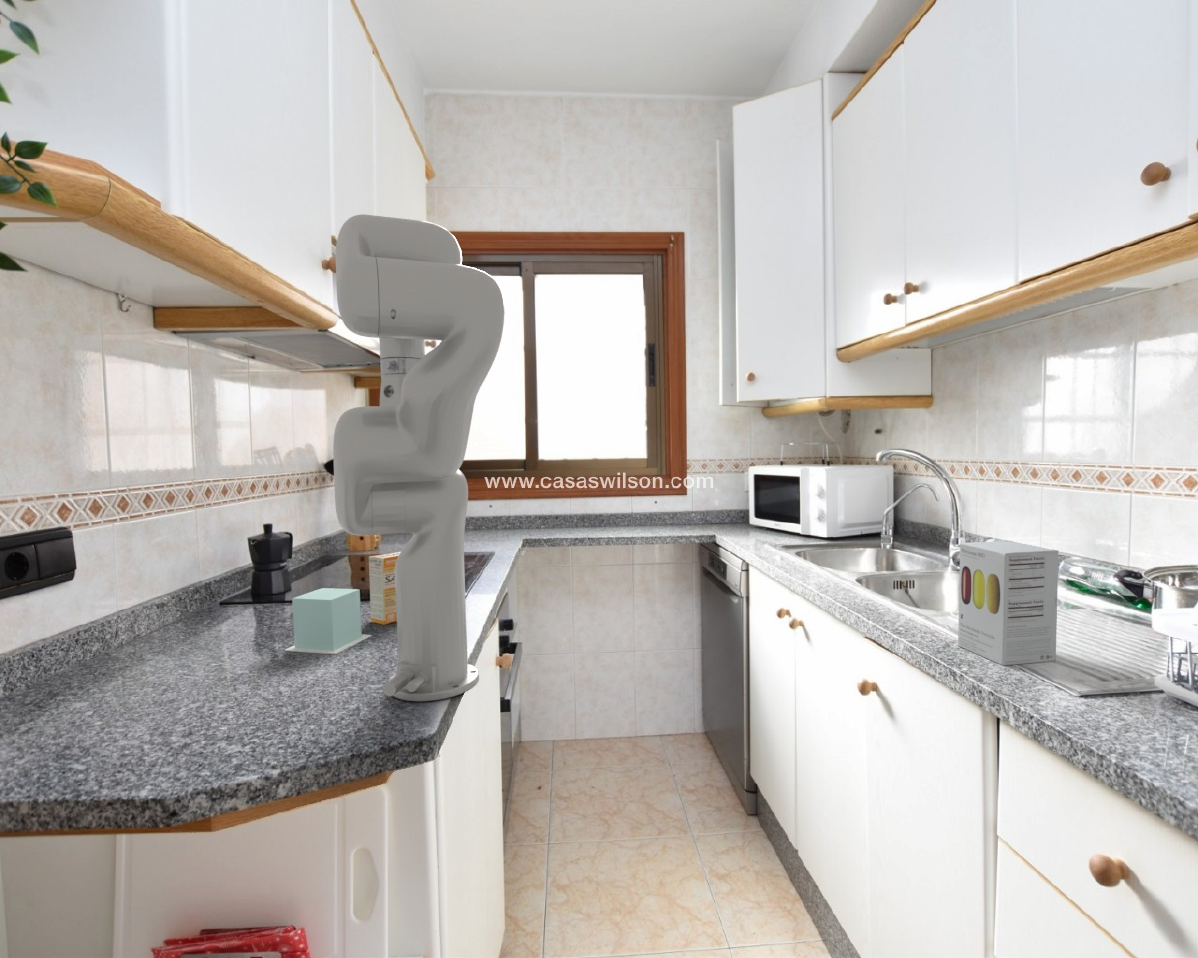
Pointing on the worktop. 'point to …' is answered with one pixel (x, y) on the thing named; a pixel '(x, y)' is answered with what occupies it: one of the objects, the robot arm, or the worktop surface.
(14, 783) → the worktop surface
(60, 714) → the worktop surface
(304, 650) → the tape square
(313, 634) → the mint foam cube
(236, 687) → the worktop surface
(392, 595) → the supplement box
